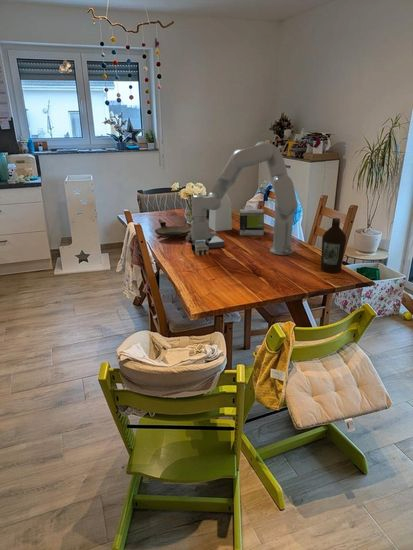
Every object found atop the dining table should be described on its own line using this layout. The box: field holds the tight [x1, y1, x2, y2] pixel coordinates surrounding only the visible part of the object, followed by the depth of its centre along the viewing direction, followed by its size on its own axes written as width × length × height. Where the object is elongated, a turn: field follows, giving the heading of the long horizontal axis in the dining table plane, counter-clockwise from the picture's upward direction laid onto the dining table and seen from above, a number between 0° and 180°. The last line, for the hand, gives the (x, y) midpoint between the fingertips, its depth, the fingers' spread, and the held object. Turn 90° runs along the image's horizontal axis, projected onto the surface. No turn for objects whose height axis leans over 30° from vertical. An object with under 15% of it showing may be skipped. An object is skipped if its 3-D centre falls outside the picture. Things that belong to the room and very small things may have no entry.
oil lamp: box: [154, 218, 190, 239], centre depth 245 cm, size 22×30×8 cm
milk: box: [208, 192, 233, 232], centre depth 257 cm, size 12×12×26 cm
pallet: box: [193, 244, 210, 256], centre depth 215 cm, size 10×6×4 cm, turn 19°
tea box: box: [239, 208, 265, 236], centre depth 246 cm, size 15×10×15 cm
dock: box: [203, 231, 225, 249], centre depth 228 cm, size 14×12×5 cm
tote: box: [194, 240, 205, 247], centre depth 214 cm, size 6×4×2 cm
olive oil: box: [320, 217, 347, 274], centre depth 184 cm, size 11×11×25 cm
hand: (199, 250), depth 215 cm, fingers closed on pallet, 6 cm apart
